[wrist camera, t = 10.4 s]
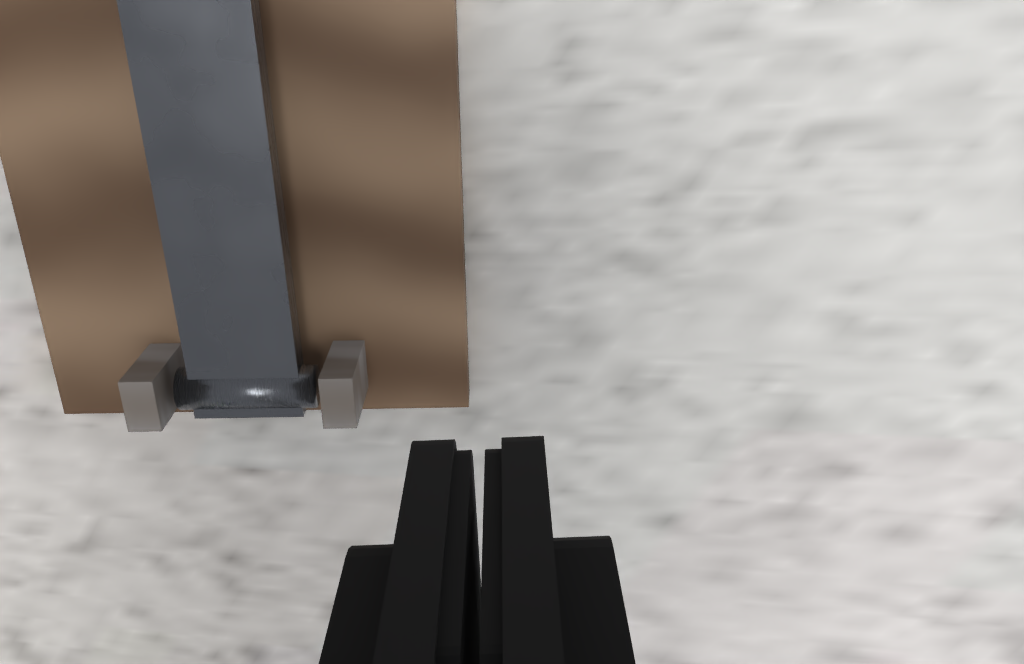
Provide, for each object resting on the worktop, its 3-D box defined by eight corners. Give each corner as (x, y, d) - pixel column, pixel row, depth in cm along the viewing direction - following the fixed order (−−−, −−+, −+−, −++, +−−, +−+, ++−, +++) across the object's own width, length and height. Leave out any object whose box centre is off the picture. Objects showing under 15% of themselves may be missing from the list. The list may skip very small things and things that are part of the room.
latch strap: (323, 399, 34) (313, 427, 32) (192, 401, 34) (174, 429, 32) (248, -251, 25) (227, -264, 23) (70, -249, 25) (35, -262, 23)
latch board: (469, 392, 37) (464, 474, 31) (77, 399, 36) (3, 482, 31) (439, -489, 25) (423, -605, 20) (-135, -485, 25) (-314, -601, 19)
